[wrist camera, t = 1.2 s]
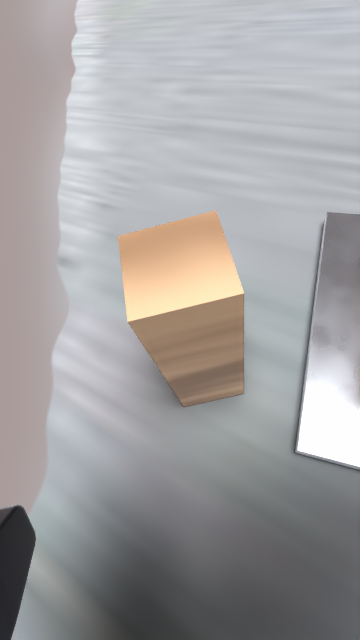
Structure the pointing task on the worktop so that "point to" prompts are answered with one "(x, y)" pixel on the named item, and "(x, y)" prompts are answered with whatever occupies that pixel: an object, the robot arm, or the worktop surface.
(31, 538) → the robot arm
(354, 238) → the square socket
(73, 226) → the worktop surface
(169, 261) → the tan square block
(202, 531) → the worktop surface
